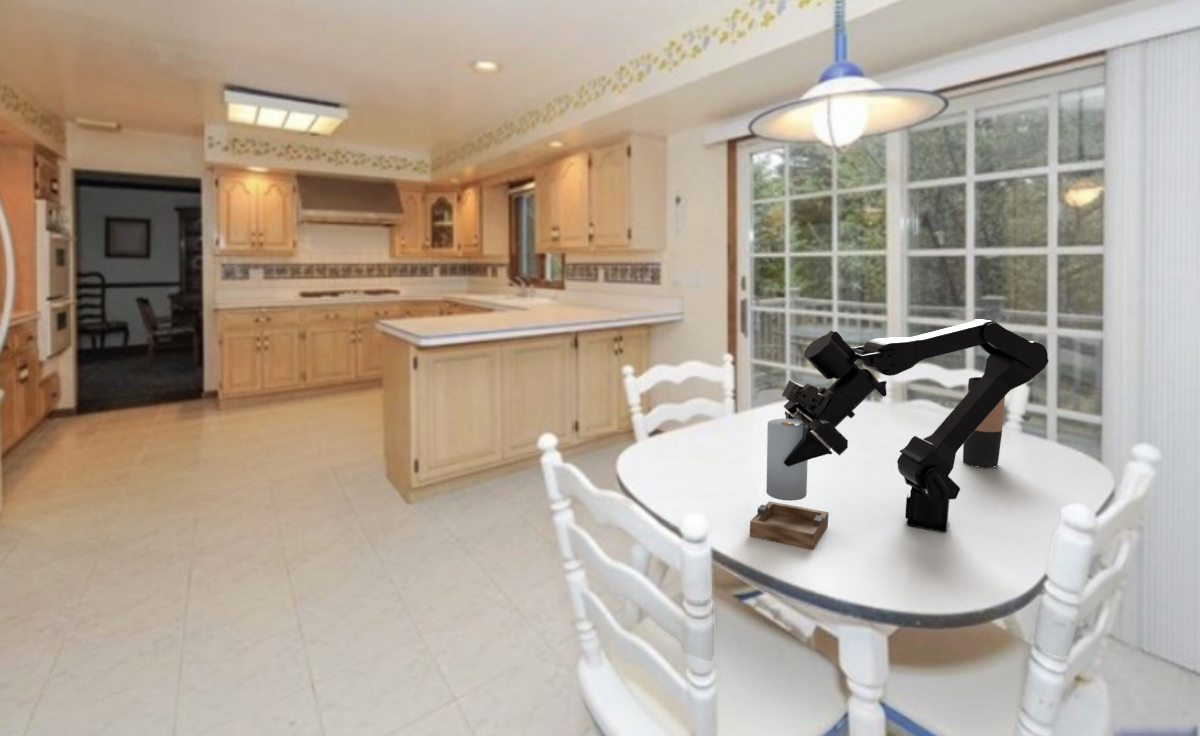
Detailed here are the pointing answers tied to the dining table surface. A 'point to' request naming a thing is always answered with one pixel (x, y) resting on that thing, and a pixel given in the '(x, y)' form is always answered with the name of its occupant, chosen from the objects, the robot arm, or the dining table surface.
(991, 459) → the travel mug
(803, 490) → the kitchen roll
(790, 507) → the square wooden tray
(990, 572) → the dining table surface
